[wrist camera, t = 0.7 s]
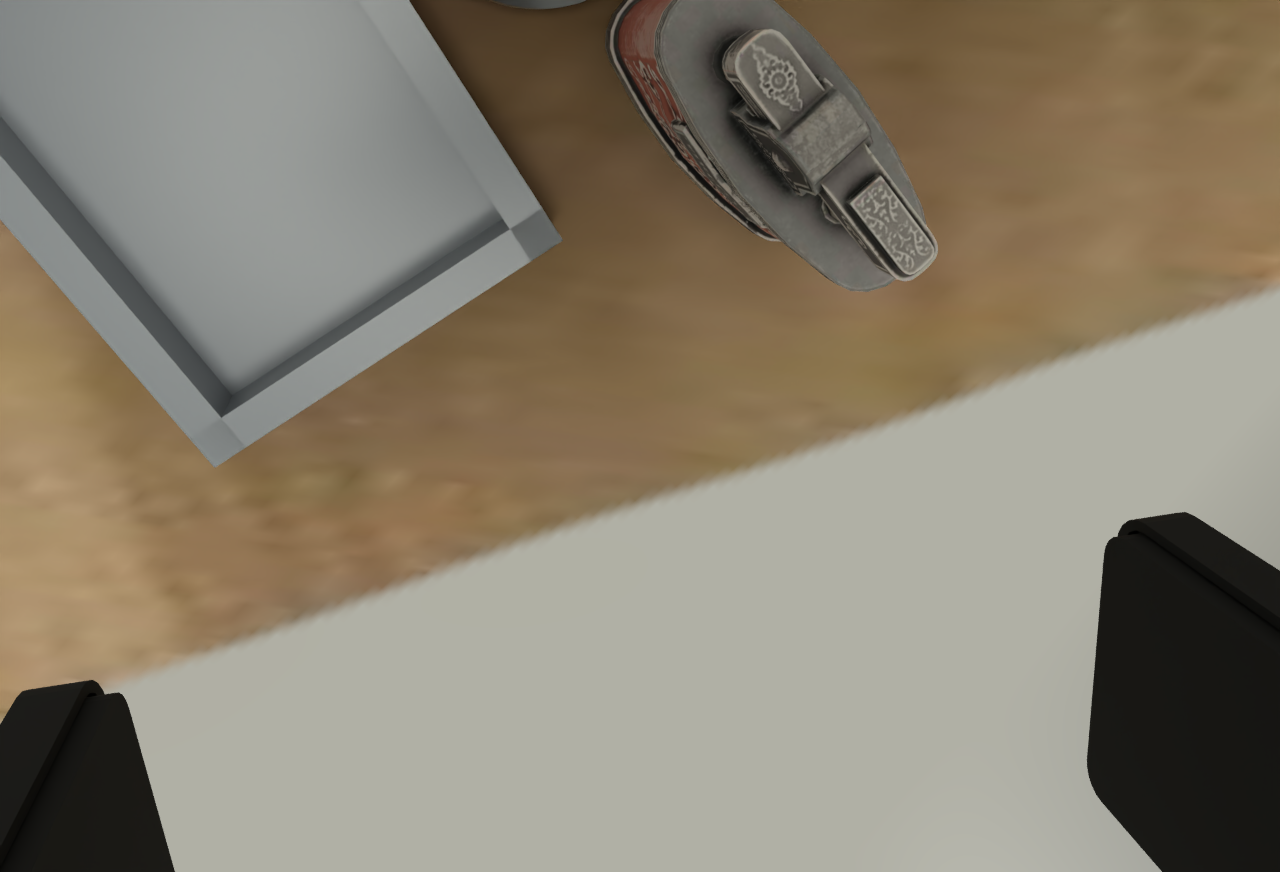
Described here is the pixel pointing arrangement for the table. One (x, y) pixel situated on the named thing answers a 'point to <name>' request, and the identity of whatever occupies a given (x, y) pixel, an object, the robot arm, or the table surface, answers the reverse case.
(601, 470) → the table surface
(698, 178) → the lighter
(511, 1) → the pot lid
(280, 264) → the tray
